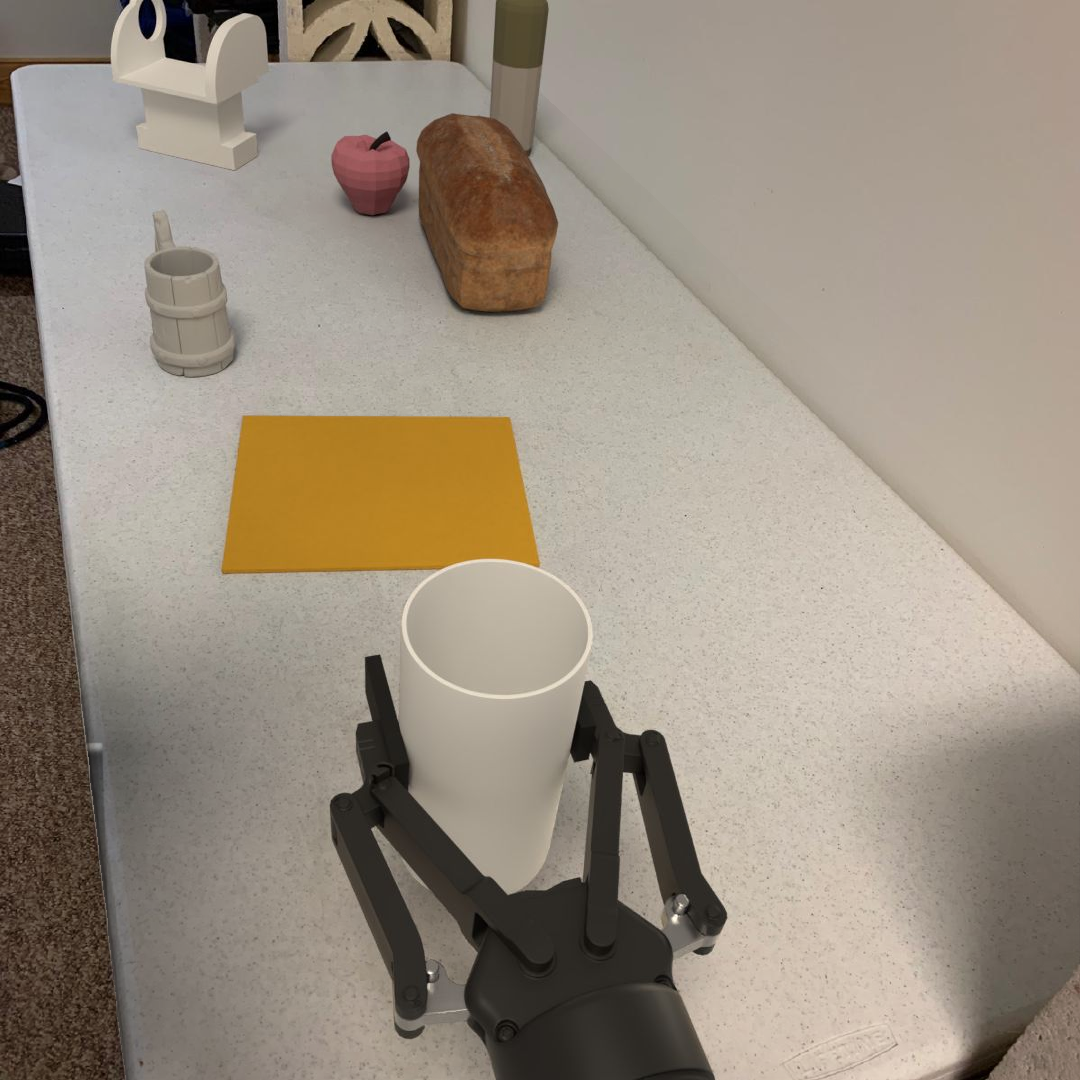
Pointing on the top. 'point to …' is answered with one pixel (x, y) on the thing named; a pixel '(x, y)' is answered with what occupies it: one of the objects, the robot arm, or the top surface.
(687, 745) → the top surface
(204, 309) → the mug
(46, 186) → the top surface
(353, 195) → the apple
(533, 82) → the bottle
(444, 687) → the cup
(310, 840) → the top surface
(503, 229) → the bread
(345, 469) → the cloth
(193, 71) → the white holder stand
